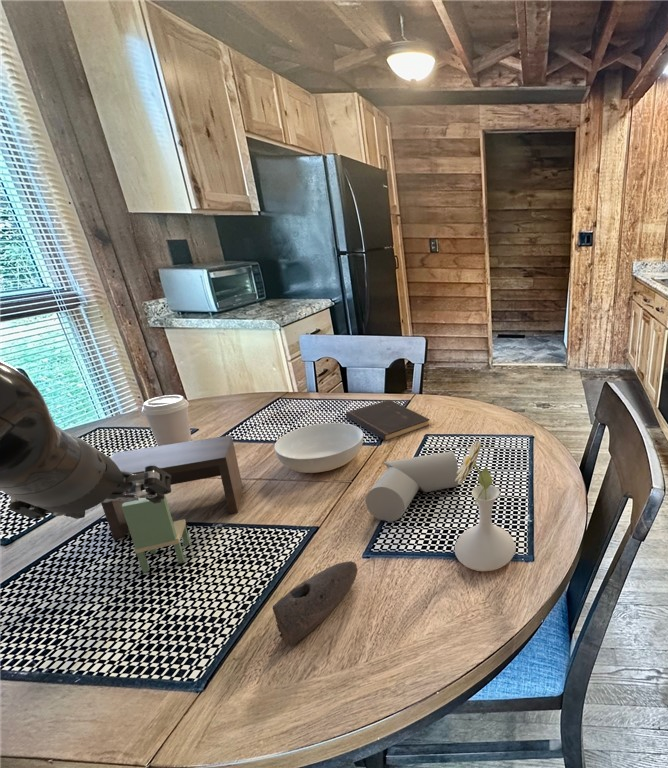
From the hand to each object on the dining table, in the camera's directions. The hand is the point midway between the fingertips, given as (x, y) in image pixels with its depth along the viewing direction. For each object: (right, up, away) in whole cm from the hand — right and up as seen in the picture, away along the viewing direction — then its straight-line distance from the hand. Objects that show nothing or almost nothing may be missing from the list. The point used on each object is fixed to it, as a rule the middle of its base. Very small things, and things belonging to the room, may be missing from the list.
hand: (121, 503), depth 61 cm
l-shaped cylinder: (+36, -9, +35) cm, 51 cm away
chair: (-5, -14, +15) cm, 21 cm away
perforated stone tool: (+27, -19, +5) cm, 33 cm away
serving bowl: (+8, -3, +48) cm, 49 cm away
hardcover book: (+17, +5, +72) cm, 75 cm away
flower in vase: (+52, -15, +17) cm, 57 cm away
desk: (-12, -10, +27) cm, 31 cm away
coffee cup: (-32, -1, +50) cm, 60 cm away
